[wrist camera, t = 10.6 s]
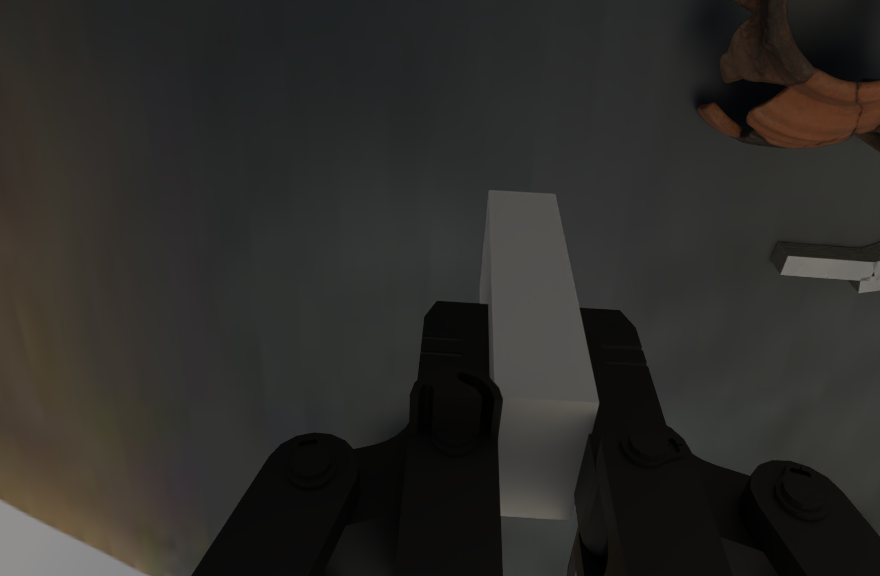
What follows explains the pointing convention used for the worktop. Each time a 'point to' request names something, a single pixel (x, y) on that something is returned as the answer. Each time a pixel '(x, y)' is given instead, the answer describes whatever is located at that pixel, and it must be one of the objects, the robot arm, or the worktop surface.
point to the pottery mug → (791, 89)
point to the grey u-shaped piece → (831, 263)
